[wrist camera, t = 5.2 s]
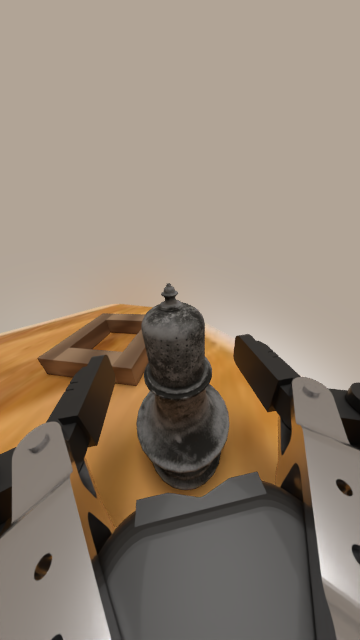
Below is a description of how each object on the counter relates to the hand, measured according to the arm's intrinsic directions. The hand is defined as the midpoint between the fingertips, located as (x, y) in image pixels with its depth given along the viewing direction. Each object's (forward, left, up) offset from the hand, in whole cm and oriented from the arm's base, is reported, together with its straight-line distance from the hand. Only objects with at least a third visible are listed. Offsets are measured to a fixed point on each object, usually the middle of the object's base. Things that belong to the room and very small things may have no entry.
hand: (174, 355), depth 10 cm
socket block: (-11, +9, -7) cm, 16 cm away
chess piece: (+1, -1, -7) cm, 7 cm away
